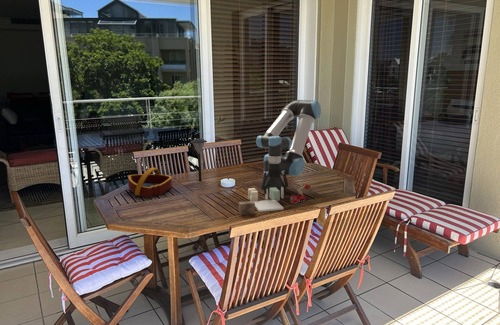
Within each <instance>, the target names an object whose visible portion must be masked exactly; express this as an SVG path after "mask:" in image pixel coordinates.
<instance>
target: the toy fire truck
mask: <svg viewBox="0 0 500 325" xmlns="http://www.w3.org/2000/svg"><path fill="white" fill-rule="evenodd" d="M303 189H305V190H310V189H311V185H309V184H306V183H304V184H302V186H300V187H299V188H297V189H296V192H297V193H298V194H297V195H291V196H290V200H289V202H290V203H291V204H293V205H294V204H295V205H297V204H298V203H304V202H305V201H306V200H307V199H306V196H305V195H304V193H303V191H302V190H303Z"/></svg>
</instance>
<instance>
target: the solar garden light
mask: <svg viewBox="0 0 500 325" xmlns="http://www.w3.org/2000/svg"><path fill="white" fill-rule="evenodd" d="M207 142H208V141H207V140H206V139H204V138H194V139H193V140H191V141H190V142H189V143H191V144H193V147H194V149H195V150H196V152H197V166H198V181H199V182H202V162H201V161H202V160H201V153H202V150H203V148H204V145H205V143H207Z"/></svg>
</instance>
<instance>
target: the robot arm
mask: <svg viewBox="0 0 500 325" xmlns="http://www.w3.org/2000/svg"><path fill="white" fill-rule="evenodd" d="M321 113H322V109H321V104H320V102H319V101H318V100H313V99H312V100H307V99H306V100H305V99H296V100H292V101H291V102H289V103H288V104H286V105H285V106H284V107H283V108H282V110H281V112H280V114H279V116H278V117H277V118H276V119H275V121H273V123H272V124H271V125H270V127H269V128H268V129H267V130H266V132H265V133H264V134H263V135H262V134H261V135H258V136H257V137H256V140H255V143H256V146H257V147H258V148H263V149H268V153H267V154H265V155H264V156H263V172H262V174H263V176H262V179H261V180H262V181H261V184H260V188H261V189H262V190H263V194H264V196H265V197H264V198H265V199H264V200H269V188H274V187H276V188H277V189H278V190H279V191H280V198H281V199H284V197H285V196H284V194H285V192H286V188H287V187H289V184H288V178H287V176H292V177H299V175H301V174H302V172H303V171H304V168H305V164H306V163H305V160H304V156H303V153H304V149H305V146H306V143H307V139H308V137H309V133H310V130H311V127H312V124H314V123H315V122H316V119H319V118H320V117H321V115H322V114H321ZM294 118H298V122H297V126H296V128H295V132H294V136H293V138H292V139H291V138H290V137H289V136H283V137H281V136H279V135H280V134H281V132H282V131H283V130H284V129H285V128H286V127H287V125H288V124H289V122H290V121H292V120H293V119H294ZM287 150H288V151H287ZM284 151H286V152H285V154H284V155H282V152H284Z"/></svg>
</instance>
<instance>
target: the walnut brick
mask: <svg viewBox="0 0 500 325" xmlns="http://www.w3.org/2000/svg"><path fill="white" fill-rule="evenodd" d="M255 209H256V207H255V203H254V202H253V201H250V200H247V201H246V200H245V201H239V202H238V213H239V215H240V216H242V215H244V216H245V215H253V214H255V213H256V210H255Z"/></svg>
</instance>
